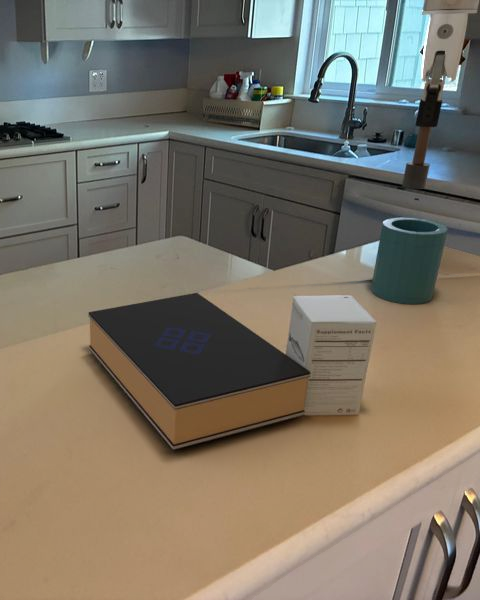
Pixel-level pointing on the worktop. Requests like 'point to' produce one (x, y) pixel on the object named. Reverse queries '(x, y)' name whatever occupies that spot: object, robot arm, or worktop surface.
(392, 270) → the teal pen holder
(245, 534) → the worktop surface
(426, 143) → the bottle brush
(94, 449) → the worktop surface
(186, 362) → the book
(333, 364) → the white packaging box
